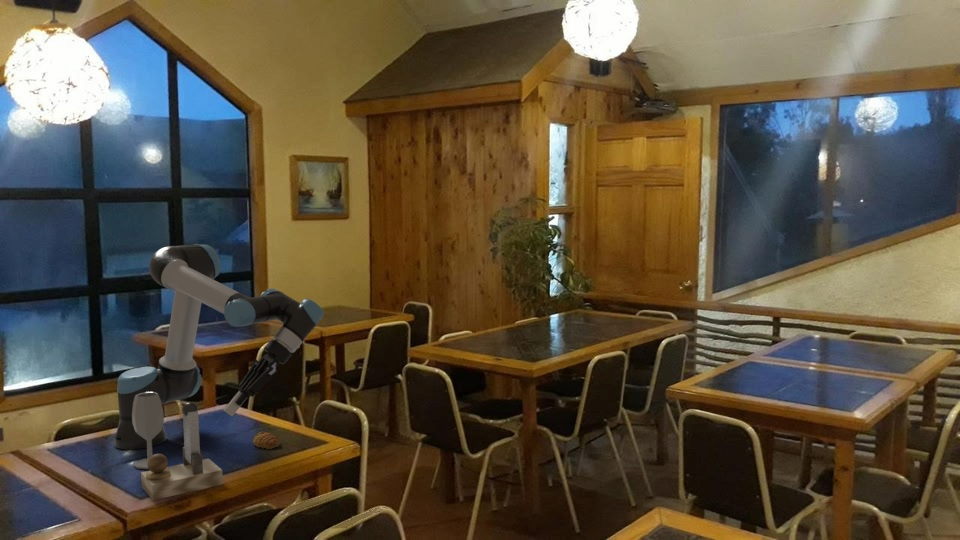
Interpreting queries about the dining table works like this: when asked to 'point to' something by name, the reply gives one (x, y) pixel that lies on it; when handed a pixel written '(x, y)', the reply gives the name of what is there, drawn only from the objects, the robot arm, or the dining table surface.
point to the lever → (191, 431)
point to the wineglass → (147, 421)
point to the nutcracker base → (179, 476)
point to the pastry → (266, 440)
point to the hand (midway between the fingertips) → (227, 413)
